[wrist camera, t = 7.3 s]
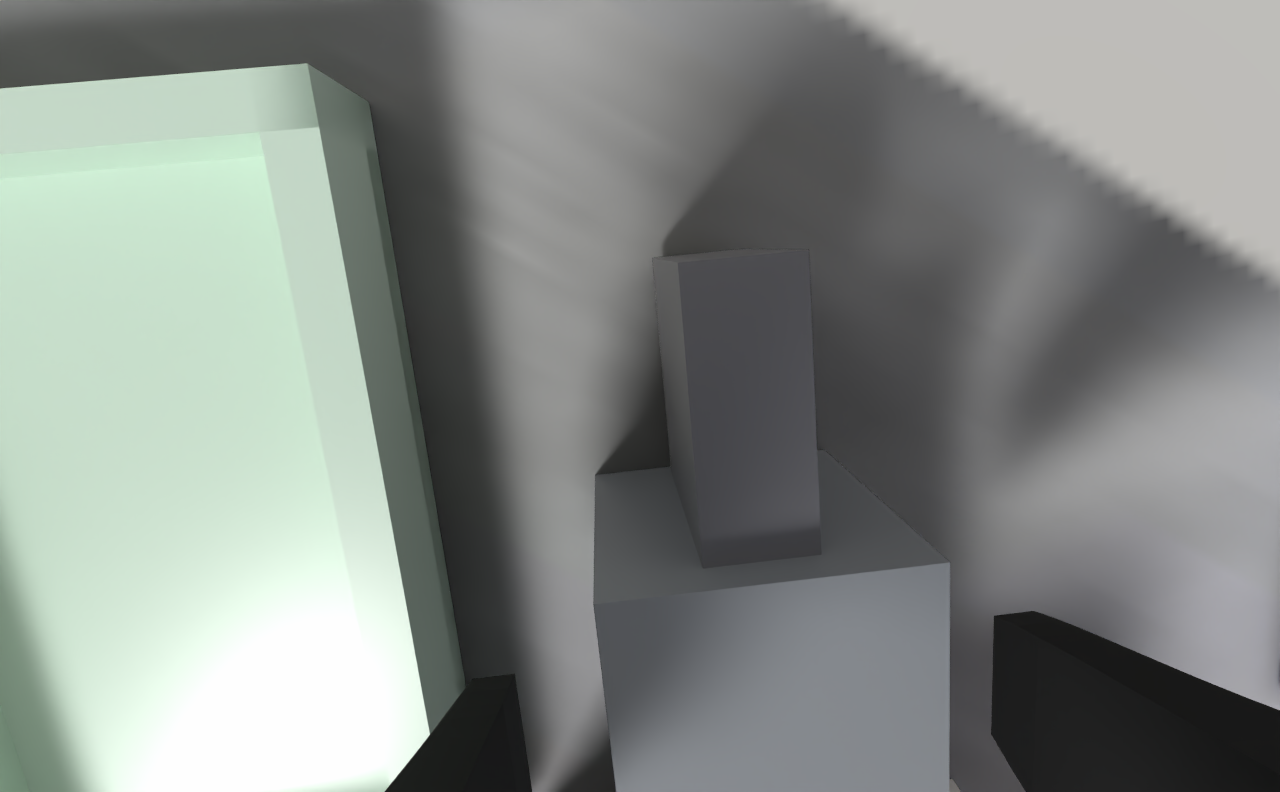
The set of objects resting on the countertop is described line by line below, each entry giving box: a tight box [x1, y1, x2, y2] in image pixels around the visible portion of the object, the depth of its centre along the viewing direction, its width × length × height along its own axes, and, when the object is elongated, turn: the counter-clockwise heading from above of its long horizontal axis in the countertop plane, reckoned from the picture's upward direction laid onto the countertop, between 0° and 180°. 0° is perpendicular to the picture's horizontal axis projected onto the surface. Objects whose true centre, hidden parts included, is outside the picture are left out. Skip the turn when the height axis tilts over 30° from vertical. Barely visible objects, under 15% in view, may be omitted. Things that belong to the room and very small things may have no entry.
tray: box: [0, 63, 466, 792], centre depth 12 cm, size 9×15×2 cm, turn 5°
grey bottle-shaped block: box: [593, 249, 950, 792], centre depth 11 cm, size 4×11×5 cm, turn 6°
